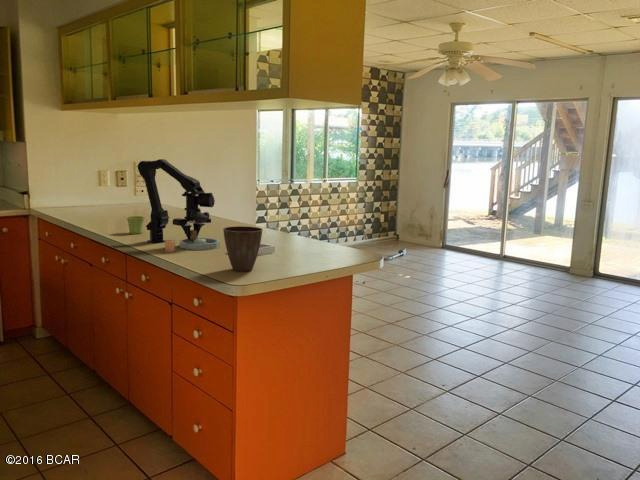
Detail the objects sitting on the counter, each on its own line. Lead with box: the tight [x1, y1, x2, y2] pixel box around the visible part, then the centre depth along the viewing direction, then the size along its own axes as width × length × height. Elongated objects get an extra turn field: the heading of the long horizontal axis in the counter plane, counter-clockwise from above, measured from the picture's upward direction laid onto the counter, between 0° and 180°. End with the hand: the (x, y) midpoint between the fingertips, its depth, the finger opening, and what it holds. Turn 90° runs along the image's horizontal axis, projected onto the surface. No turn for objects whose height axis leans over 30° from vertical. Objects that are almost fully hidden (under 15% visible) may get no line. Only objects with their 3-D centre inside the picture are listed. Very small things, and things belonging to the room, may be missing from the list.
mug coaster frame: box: [257, 242, 276, 257], centre depth 242 cm, size 14×16×3 cm
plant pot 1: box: [125, 215, 145, 235], centre depth 283 cm, size 9×9×9 cm
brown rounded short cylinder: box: [187, 229, 198, 242], centre depth 255 cm, size 4×4×5 cm
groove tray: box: [179, 237, 221, 251], centre depth 252 cm, size 18×18×3 cm
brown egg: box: [164, 239, 176, 254], centre depth 237 cm, size 4×4×5 cm
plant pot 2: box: [222, 225, 263, 272], centre depth 206 cm, size 15×15×16 cm
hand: (192, 238), depth 255 cm, fingers closed on brown rounded short cylinder, 4 cm apart
